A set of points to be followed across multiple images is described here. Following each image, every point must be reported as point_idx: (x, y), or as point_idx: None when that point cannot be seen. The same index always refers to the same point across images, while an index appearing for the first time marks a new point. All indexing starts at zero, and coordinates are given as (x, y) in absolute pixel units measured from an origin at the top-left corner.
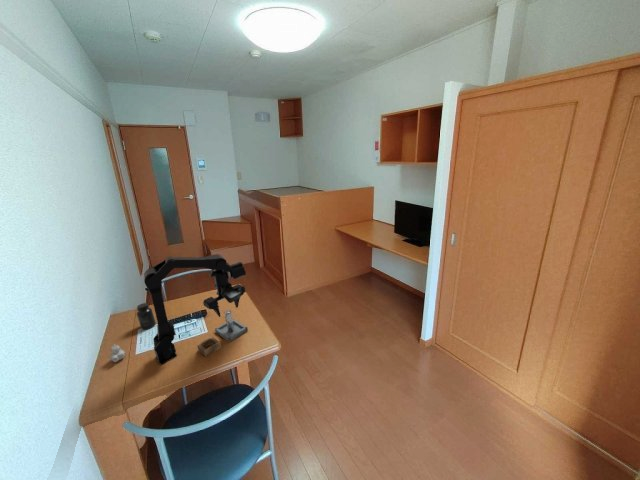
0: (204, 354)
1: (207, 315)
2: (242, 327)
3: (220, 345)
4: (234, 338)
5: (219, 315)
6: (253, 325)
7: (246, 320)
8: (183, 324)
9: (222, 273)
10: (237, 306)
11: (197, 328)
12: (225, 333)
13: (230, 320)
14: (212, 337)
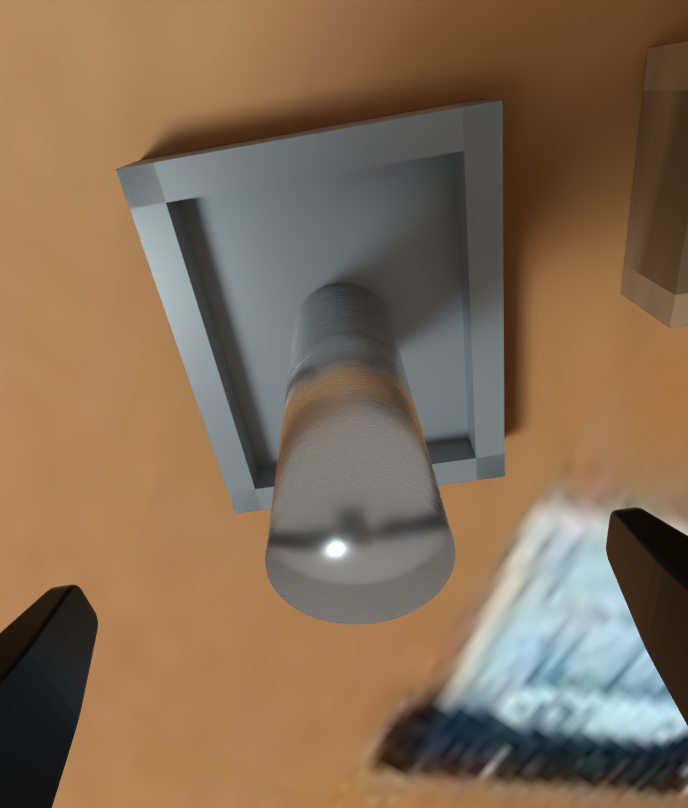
0: None
1: (404, 703)
2: (188, 252)
3: (679, 45)
4: (389, 116)
5: (678, 539)
6: (20, 227)
7: (88, 406)
8: (609, 707)
9: None
10: (39, 611)
11: (571, 605)
12: (436, 321)
13: (352, 377)
14: (683, 292)
